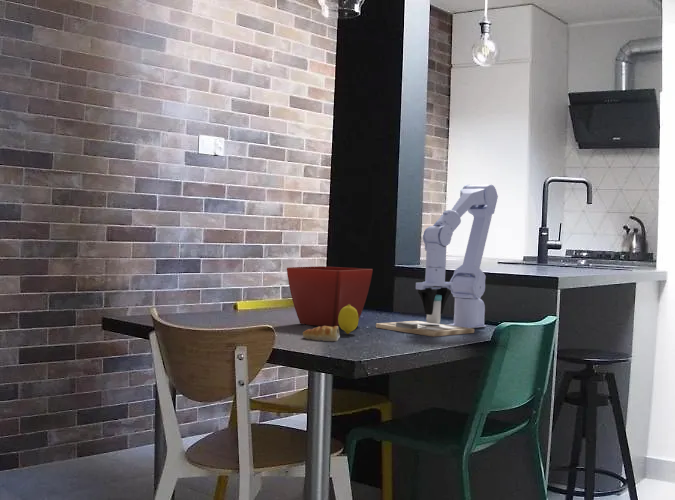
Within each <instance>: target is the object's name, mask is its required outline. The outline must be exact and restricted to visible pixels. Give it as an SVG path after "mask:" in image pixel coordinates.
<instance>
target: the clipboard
mask: <svg viewBox="0 0 675 500" xmlns="http://www.w3.org/2000/svg"><path fill="white" fill-rule="evenodd" d="M375 328H376V329H383V330H389V331H390V330H391V331H394V332H401V333H402V332H403V333H408V334H416V335H421V336H426V337H427V336H428V337H441V336H442V337H445V336H455V335H464V334H465V335H466V334H474V333H475V328H466V327H459V326H451V325H448V324H443V323H428V322H426V321H421V320H409V321H408V320H407V321H394V322H392V321H391V322H379V323H378V322H377V323H375Z"/></svg>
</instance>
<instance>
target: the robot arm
mask: <svg viewBox="0 0 675 500" xmlns="http://www.w3.org/2000/svg"><path fill="white" fill-rule="evenodd" d="M459 193H460V194H459V198H458V200H457V201H456V203H455V204H454V205H453V207H452V208H451V209H447V210H444V211H443V212H442V214H441V215H440V217H439V218H438V219H437V220H436V221H435V223H434V224H433V225H429V226H428V227H426V228H425V229H424V232H423V234H422V241H423V243H424V251H425V252H426V257H425V276H424V280H425V281H422V282H421V281H420V282H415V290H418V291H417V293H418V295H419V297H420V299H421V302H422V305H423V310H424V314H425V315H427V314H428V315H432V312H433V304H434V299H435V296H436V295H442V300H441V315H442V314H443V312H444V308H445V305H446V302H447V301H448V298H449V297H450V296H451V294H452V297H453V298H454V306H453V307H454V309H453V314H454V315H453V323H448V324H447V325H451V326H459V327H466V328H473V329H476V328H477V329H478V328H487V325H486V324H485V313H486V305H485V302H484V300H483V299H482V296H483V295H484V293H485V291H486V278H487V276H486V274H485V273H484V271H483V270H481V263H482V260H483V255H484V252H485V248H486V243H487V239H488V234H489V229H490V225H491V223H492V217H493V214H495V211H496V207H497V202H498V200H499V199H498V198H499V195H498V193H497V189H496V186H495V185H493V184H476V185H475V184H474V185H473V184H471V185H470V184H465V185H464V186H463V187H462V189H461V190H460V192H459ZM466 212H468V214H471V215H472V217H473V220H472V223H471V224H472V225H471V229H470V233H469V237H468V242H467V245H466V250H465V253H464V258H463V262H462V264H461V265H460V266H458V267H457V268H456V269H454V271H453V275H452V276H451V278H450V280H449V281H446V270H447V269H446V264H447V246H448V245H450V243H451V240H452V237H453V234H454V232H455V230H457V228H458V227H459V225H460V224H461V222H462V219H461V217H463V216H464V215H465V214H466Z"/></svg>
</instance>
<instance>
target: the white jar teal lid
mask: <svg viewBox="0 0 675 500" xmlns="http://www.w3.org/2000/svg"><path fill="white" fill-rule="evenodd" d="M441 300H442V295H436V296H435V299H434V304H433V312H432V315H428V314H426V321H425V322H428V323H437V324H441V315H442V314H441Z"/></svg>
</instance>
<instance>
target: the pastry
mask: <svg viewBox="0 0 675 500" xmlns="http://www.w3.org/2000/svg"><path fill="white" fill-rule="evenodd" d="M302 337H303V338H304V339H306V340H310V339H312V340H311V341H320V340H323V342H324V341H325V342H338V341H339V339H340V337H341V335H340V327H338V326H334V327H329V326H316V327H314V328H308V329H306V330H304V331H302Z"/></svg>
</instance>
